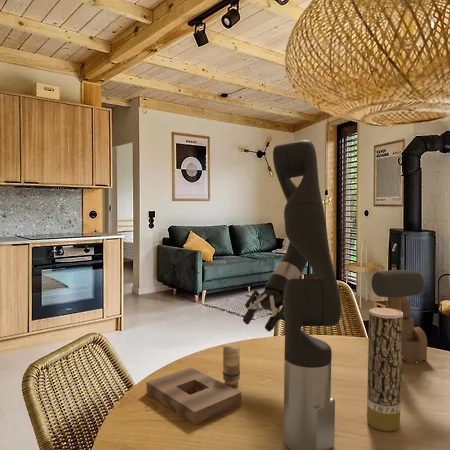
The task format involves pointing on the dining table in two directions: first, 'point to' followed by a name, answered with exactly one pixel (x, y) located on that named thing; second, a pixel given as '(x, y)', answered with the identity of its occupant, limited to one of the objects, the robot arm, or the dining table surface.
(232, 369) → the peg
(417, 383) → the dining table surface
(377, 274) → the rubber mallet
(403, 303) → the wooden toy
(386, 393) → the paper tube
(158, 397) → the board
